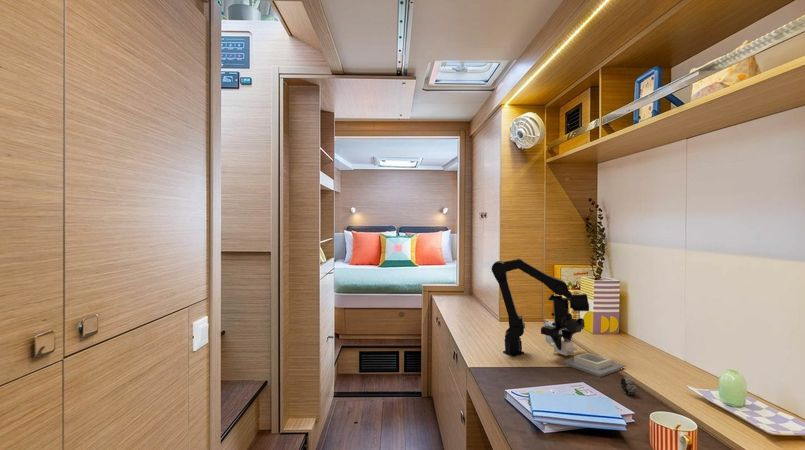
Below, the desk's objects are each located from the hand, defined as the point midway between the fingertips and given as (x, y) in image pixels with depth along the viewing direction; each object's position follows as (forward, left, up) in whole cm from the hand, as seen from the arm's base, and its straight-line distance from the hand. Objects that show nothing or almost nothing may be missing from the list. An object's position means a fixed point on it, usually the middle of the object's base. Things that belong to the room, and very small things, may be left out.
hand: (563, 348), depth 156 cm
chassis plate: (-1, -14, -3) cm, 14 cm away
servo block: (0, 0, -2) cm, 2 cm away
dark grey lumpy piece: (-12, -35, -3) cm, 37 cm away
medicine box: (+10, +14, -3) cm, 17 cm away
